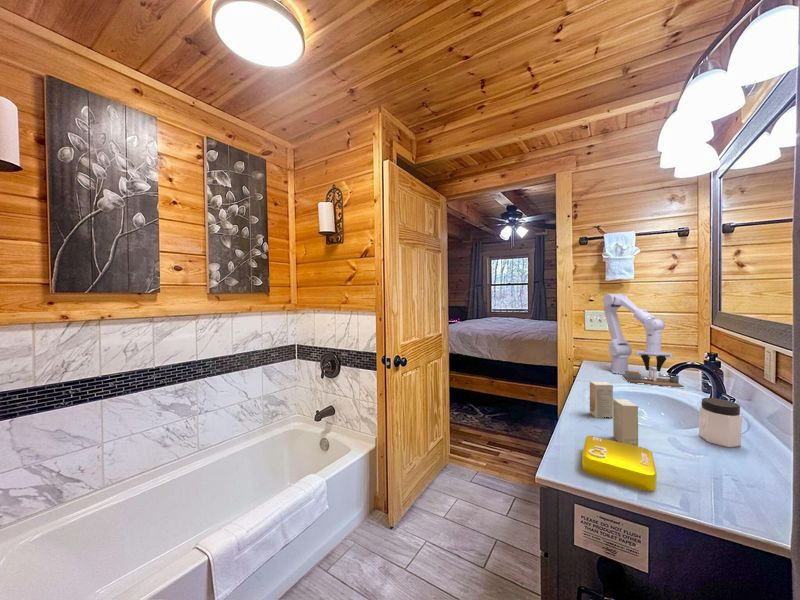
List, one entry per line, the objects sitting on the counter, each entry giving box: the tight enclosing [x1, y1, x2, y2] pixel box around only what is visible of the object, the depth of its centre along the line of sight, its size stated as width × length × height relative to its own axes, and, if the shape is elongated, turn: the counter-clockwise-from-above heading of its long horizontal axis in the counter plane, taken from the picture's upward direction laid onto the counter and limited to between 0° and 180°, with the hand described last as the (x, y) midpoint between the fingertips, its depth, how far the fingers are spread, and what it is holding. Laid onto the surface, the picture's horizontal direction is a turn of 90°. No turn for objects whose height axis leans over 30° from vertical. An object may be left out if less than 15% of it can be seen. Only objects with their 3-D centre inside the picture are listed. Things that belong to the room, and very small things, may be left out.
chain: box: [641, 366, 658, 382], centre depth 155 cm, size 6×10×6 cm, turn 68°
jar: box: [698, 397, 743, 448], centre depth 95 cm, size 9×8×12 cm
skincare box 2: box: [612, 398, 639, 447], centre depth 94 cm, size 6×4×12 cm
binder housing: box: [624, 370, 642, 381], centre depth 157 cm, size 5×5×4 cm
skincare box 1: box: [589, 381, 614, 419], centre depth 113 cm, size 6×4×12 cm
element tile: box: [581, 435, 658, 492], centre depth 81 cm, size 15×15×5 cm
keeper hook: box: [658, 372, 680, 384], centre depth 152 cm, size 4×7×4 cm, turn 68°
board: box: [621, 374, 685, 388], centre depth 154 cm, size 12×21×1 cm, turn 68°
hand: (652, 370), depth 154 cm, fingers open, 4 cm apart
